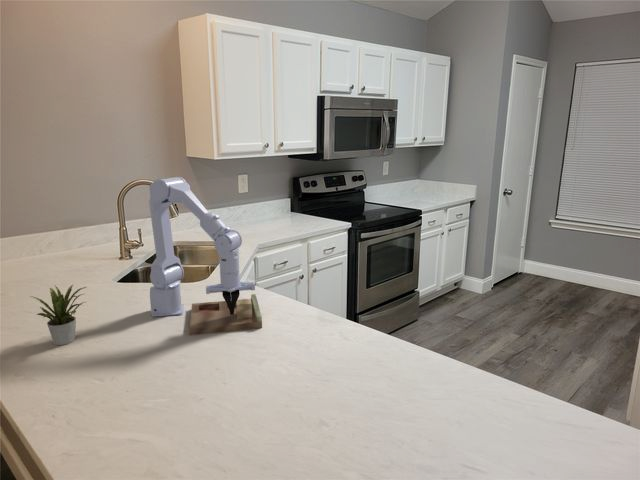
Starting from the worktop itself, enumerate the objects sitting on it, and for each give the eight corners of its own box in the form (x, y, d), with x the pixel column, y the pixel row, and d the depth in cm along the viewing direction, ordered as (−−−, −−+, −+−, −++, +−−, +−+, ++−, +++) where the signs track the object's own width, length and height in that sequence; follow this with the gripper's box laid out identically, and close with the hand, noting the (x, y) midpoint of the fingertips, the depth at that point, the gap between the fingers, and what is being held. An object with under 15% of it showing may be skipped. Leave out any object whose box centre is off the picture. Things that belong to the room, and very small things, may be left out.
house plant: (108, 334, 133) (101, 281, 129) (68, 356, 120) (60, 297, 116) (70, 327, 137) (63, 276, 133) (28, 347, 124) (19, 291, 121)
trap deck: (189, 335, 132) (188, 323, 131) (192, 309, 151) (191, 299, 150) (262, 327, 137) (261, 317, 136) (255, 303, 156) (255, 294, 155)
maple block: (237, 318, 138) (236, 305, 137) (236, 313, 142) (236, 299, 141) (252, 317, 139) (251, 303, 138) (251, 312, 143) (250, 298, 142)
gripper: (204, 277, 131) (207, 320, 134) (255, 273, 134) (256, 316, 138) (205, 270, 138) (207, 311, 141) (253, 266, 141) (254, 307, 144)
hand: (231, 313), depth 140 cm, fingers closed
